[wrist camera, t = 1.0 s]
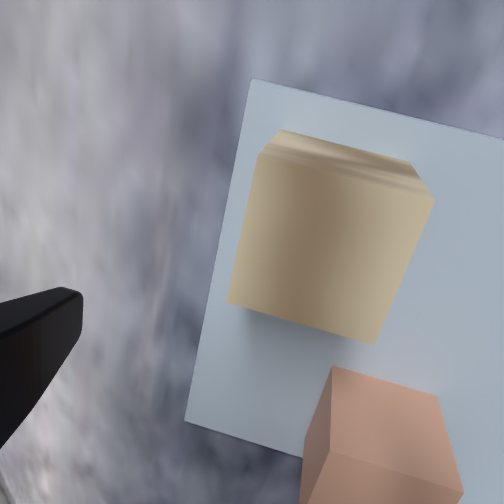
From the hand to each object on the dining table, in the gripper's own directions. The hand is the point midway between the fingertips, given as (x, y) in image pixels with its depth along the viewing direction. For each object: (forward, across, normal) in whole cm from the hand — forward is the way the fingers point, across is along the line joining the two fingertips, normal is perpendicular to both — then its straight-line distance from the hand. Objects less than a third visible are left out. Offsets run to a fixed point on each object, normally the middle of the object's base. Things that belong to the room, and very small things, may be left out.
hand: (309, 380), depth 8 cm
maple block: (+11, 0, 0) cm, 11 cm away
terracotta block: (+11, -5, +10) cm, 16 cm away
